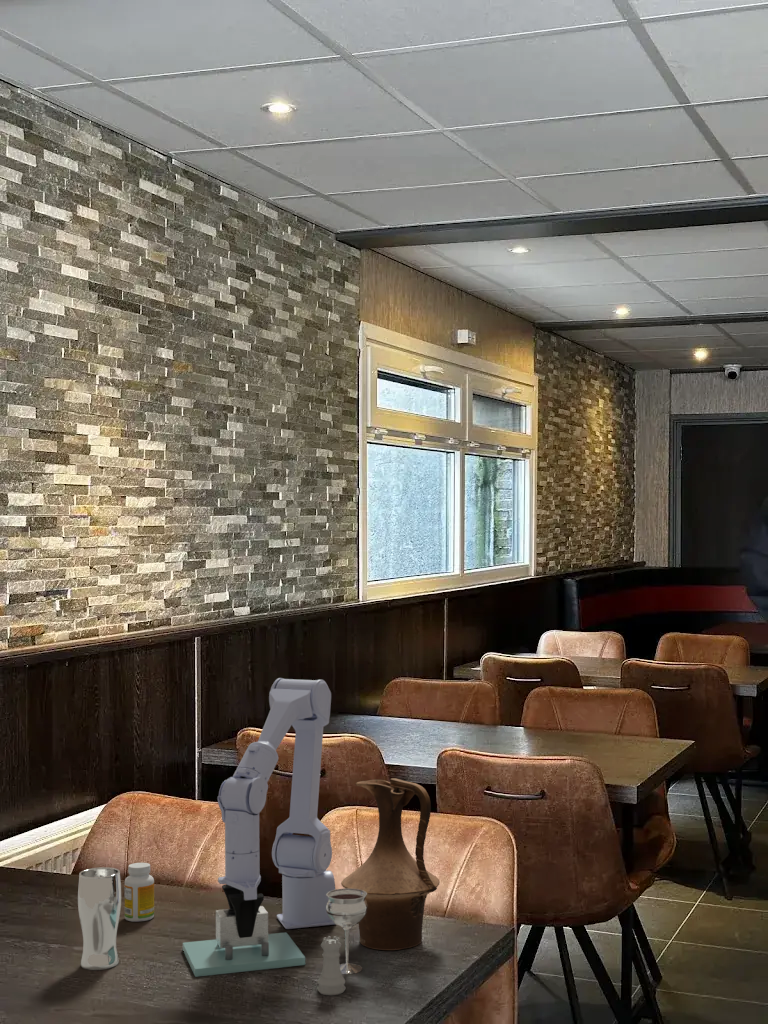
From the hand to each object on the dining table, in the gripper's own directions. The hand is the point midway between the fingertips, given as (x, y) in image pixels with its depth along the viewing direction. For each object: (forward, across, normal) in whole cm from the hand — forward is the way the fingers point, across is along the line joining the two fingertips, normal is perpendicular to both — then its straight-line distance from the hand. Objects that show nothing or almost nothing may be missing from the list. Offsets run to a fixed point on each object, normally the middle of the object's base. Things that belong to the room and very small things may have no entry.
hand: (242, 932), depth 209 cm
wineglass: (+4, +11, +15) cm, 19 cm away
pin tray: (+4, 0, 0) cm, 4 cm away
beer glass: (+4, -4, -23) cm, 24 cm away
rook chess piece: (+4, +20, +10) cm, 23 cm away
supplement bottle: (+4, -28, -14) cm, 32 cm away
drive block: (+2, 0, 0) cm, 2 cm away
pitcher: (+4, 0, +26) cm, 26 cm away
